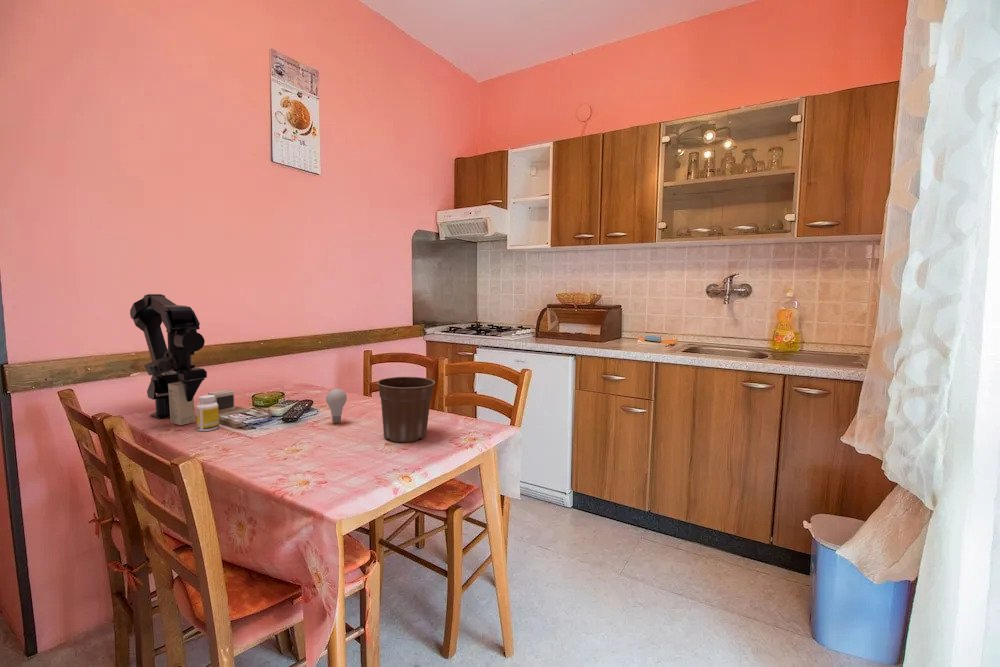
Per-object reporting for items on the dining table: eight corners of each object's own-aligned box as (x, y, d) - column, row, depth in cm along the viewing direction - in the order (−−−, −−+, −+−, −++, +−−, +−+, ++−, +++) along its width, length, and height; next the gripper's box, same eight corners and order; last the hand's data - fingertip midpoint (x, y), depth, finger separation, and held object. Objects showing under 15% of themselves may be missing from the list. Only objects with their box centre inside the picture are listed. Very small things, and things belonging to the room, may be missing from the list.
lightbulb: (338, 427, 136) (338, 391, 135) (321, 424, 138) (321, 389, 137) (351, 421, 142) (350, 387, 141) (335, 419, 144) (334, 385, 143)
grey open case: (196, 416, 143) (195, 393, 142) (231, 409, 152) (231, 387, 152) (236, 429, 131) (235, 404, 131) (271, 420, 141) (271, 397, 140)
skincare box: (195, 422, 137) (194, 383, 135) (179, 426, 133) (178, 385, 132) (185, 419, 140) (183, 380, 139) (169, 422, 136) (167, 382, 135)
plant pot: (429, 426, 140) (429, 375, 138) (439, 443, 124) (439, 386, 123) (375, 429, 134) (375, 377, 133) (378, 448, 119) (378, 388, 118)
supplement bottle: (223, 426, 133) (222, 394, 132) (209, 432, 128) (208, 398, 127) (206, 425, 134) (205, 393, 133) (192, 431, 129) (191, 397, 128)
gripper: (133, 348, 132) (135, 399, 133) (163, 354, 123) (166, 409, 124) (175, 344, 142) (177, 392, 143) (207, 350, 132) (208, 401, 134)
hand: (181, 399), depth 136 cm, fingers open, 9 cm apart
